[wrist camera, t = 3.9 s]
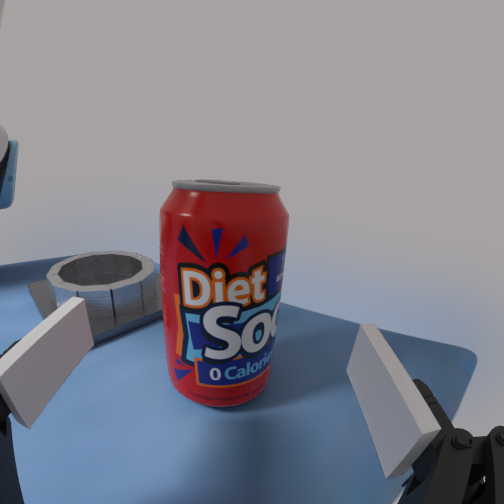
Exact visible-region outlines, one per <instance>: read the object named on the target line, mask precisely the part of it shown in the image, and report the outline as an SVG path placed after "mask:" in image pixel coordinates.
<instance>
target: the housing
mask: <svg viewBox="0 0 504 504" xmlns="http://www.w3.org/2000/svg"><path fill="white" fill-rule="evenodd" d="M46 278H47V279H44V280H41V281H37V282H33V283H29V284H28V289H29V292H30V294H31V296H32V298H33V300H34V302H35V304H36V306H37V308H38V310H39V312H40V314H41V316H42V318H43V320H45V319H46V318H47V317H48V316H49V315H51V314H52V313H53V312H54V311H56V310H57V309H58V308H59V307H60V306H62V305H63V304H64V303H65V302H67V301H68V300H69V299H71V298H72V297H78V298H84V299H85V304H86V309H87V315H88V320H89V324H90V329H91V333H92V338H93V342H94V345H96V344H98V343H101V342H103V341H106V340H108V339H111V338H113V337H116V336H118V335H121V334H123V333H126V332H128V331H131V330H133V329H136V328H138V327H141V326H143V325H146V324H148V323H150V322H153V321H155V320H158V319H160V318H162V317H163V310H162V295H161V275H159V274H157V273H155V267H154V263H153V260H152V259H150V258H147V257H145V256H143V255H141V254H137V253H131V252H123V251H102V252H93V253H92V252H90V253H86V254H81V255H77V256H72V257H69V258H67V259H65V260H63V261H61V262H59V263H57V264H55V265H54V266H52V267H51V269H50V270H49V272H48V273H47V275H46Z"/></svg>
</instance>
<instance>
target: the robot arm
mask: <svg viewBox="0 0 504 504" xmlns="http://www.w3.org/2000/svg"><path fill="white" fill-rule="evenodd" d="M4 3H5V0H0V25H1V18H2V13H3V8H4ZM17 157H18V142H17V141H16V140H11V139H10V140H9V141H8V135H7V132H6V131H5V129H4V128H3V127H2V126H1V125H0V209H5V208H8V207H10V206H11V205H12V203H13V200H14V192H15V180H16V179H15V178H16V167H17ZM93 345H94V342H93V338H92V333H91V329H90V324H89V320H88V315H87V309H86V304H85V299H84V298H78V297H72V298H71V299H69V300H68V301H67V302H65V303H64V304H63V305H62V306H60V307H59V308H58V309H57V310H56V311H54V312H53V313H52V314H51V315H49V316H48V317H47V318H46V319H45V320H43V321H42V322H41V323H40V324H39V325H38V326H36V327H35V328H34V329H33V330H32V331H31V332H29V333H28V334H27V335H26V336H25V337H24V338H22V339H20V340H18V341H16V342H14V343H13V344H12V345H11V346H10V347H9V348H8V350H7V349H6V350H5V351H4V352H3V354H1V355H0V504H24V500H23V496H22V492H21V488H20V484H19V479H18V474H17V469H16V463H15V456H14V449H13V441H12V430H11V421H10V418H9V417H8V415H9V414H10V413H12V415H13V416H14V418H15V419H16V421H17V422H18V423H20V424H21V425H23V426H25V427H26V428H28V429H30V428H31V426H32V425H33V423H34V422H35V420H36V419H37V418H38V416H39V415H40V413H41V412H42V411H43V409H44V408H45V407H46V405H47V404H48V403H49V401H50V400H51V399H52V397H53V396H54V395H55V393H56V392H57V391H58V389H59V388H60V387H61V385H62V384H63V383H64V382H65V380H66V379H67V378H68V376H69V375H70V374H71V373H72V371H73V370H74V369H75V368H76V366H77V365H78V364H79V363H80V361H81V360H82V359H83V358H84V356H85V355H86V354H87V353H88V352H89V350H90V349H91V348H92V347H93ZM346 371H347V374H348V376H349V379H350V381H351V384H352V386H353V389H354V391H355V394H356V397H357V399H358V402H359V404H360V407H361V410H362V412H363V415H364V418H365V420H366V423H367V426H368V429H369V431H370V434H371V437H372V440H373V442H374V445H375V448H376V451H377V454H378V457H379V460H380V462H381V465H382V468H383V471H384V474H385V477H386V479H387V478H391V477H395V476H399V475H402V474H404V473H405V472H406V471H407V470H408V469H409V468H410V467H411V466H412V468H413V470H414V473H413V474H412V475H411V476H410V477H409V478H408V479H407V480H406V481H405V482H404V483H403V484H402V487H404V486H405V485H406V484H407V485H406V488H405V490H404V492H403V494H402V496H401V498H400V500H399V502H398V504H504V427H503V426H497V427H495V428H493V429H492V430H491V432H490V433H489V434H488V435H487V436H482V437H473V436H472V435H471V434H470V433H469V432H468V431H466V430H464V429H459V428H456V429H455V428H454V427H453V425H452V423H451V422H450V420H449V418H448V417H447V415H446V414H445V412H444V410H443V409H442V407H441V406H440V404H439V403H438V401H437V400H436V398H435V396H434V397H433V393H432V392H431V390H430V389H429V387H428V386H427V385H426V384H424V383H423V382H422V381H421V380H419V379H414V380H412V379H411V378H410V376H409V375H408V373H407V371H406V370H405V368H404V367H403V365H402V364H401V362H400V361H399V359H398V358H397V356H396V355H395V353H394V352H393V350H392V349H391V347H390V346H389V344H388V343H387V341H386V340H385V338H384V337H383V335H382V334H381V332H380V331H379V330H378V328H377V327H376V325H375V324H360V326H359V330H358V334H357V337H356V340H355V344H354V347H353V350H352V354H351V357H350V360H349V363H348V366H347V369H346ZM484 476H485V483H484V480H483V477H484Z"/></svg>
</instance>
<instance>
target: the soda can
mask: <svg viewBox="0 0 504 504" xmlns="http://www.w3.org/2000/svg"><path fill="white" fill-rule="evenodd" d="M172 186H173V187H174V188H173V190H172V192H171V194H170V195H169V197H168V198H167V200H166V201H165V203H164V204H163V206H162V207H161V209H160V274H161V295H162V310H163V323H164V334H165V345H166V354H167V363H168V370H169V376H170V379H171V382H172V384H173V385H174V387H175V388H176V389H177V390H178V391H179V392H180V393H181V394H182V395H183V396H185V397H186V398H188V399H190V400H192V401H194V402H196V403H199V404H202V405H206V406H213V407H230V406H236V405H240V404H243V403H245V402H248V401H250V400H252V399H253V398H255V397H256V396H258V395H259V394H260V393H261V392H262V391H263V390H264V388H265V387H266V385H267V383H268V380H269V375H270V370H271V363H272V356H273V349H274V342H275V335H276V328H277V320H278V312H279V305H280V297H281V288H282V280H283V272H284V263H285V254H286V245H287V236H288V225H289V224H288V223H289V214H288V212H287V210H286V209H285V207H284V205H283V203H282V201H281V199H280V197H279V194H278V192H279V191H280V187H279V186H274V185H266V184H258V183H247V182H234V181H220V180H180V181H173V182H172Z"/></svg>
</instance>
